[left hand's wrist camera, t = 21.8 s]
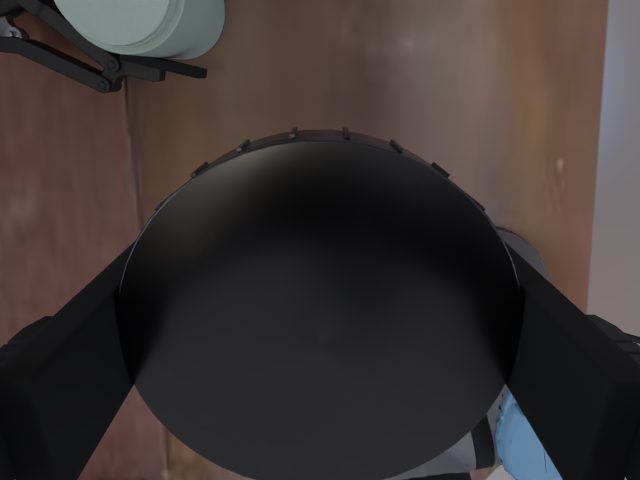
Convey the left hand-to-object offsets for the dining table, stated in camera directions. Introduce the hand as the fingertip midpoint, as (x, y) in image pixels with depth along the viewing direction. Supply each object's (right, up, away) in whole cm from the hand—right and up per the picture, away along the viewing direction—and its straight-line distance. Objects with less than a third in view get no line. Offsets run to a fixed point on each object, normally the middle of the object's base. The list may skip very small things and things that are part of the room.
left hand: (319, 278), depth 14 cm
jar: (-13, +23, +28) cm, 38 cm away
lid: (0, -1, -3) cm, 3 cm away
